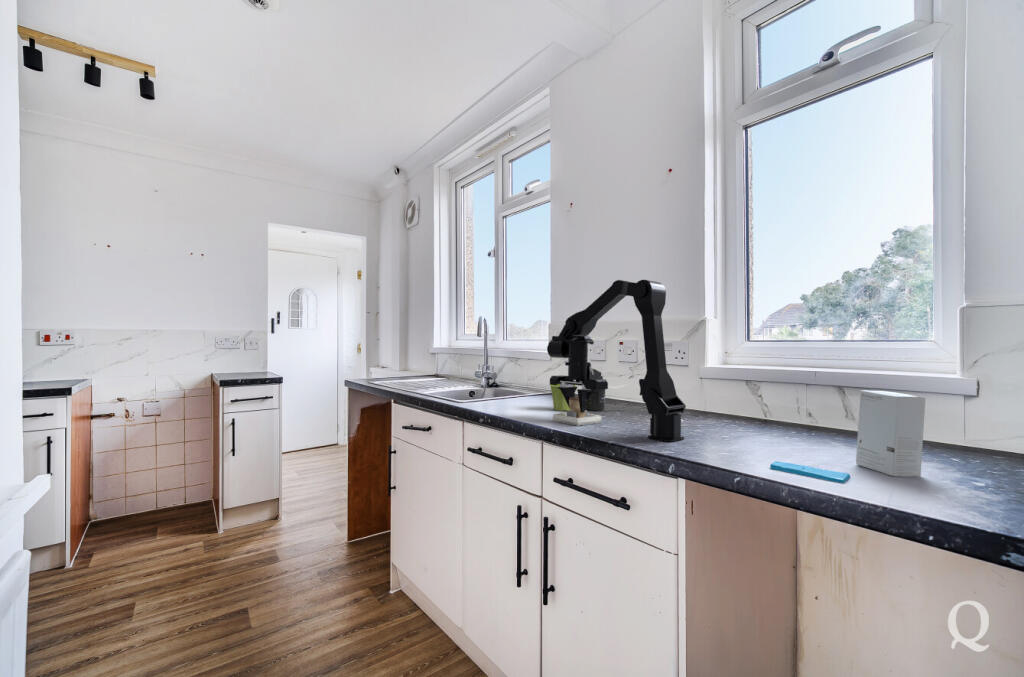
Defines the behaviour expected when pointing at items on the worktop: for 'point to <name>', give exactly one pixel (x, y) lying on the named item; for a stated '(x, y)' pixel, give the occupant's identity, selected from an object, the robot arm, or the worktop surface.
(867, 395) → the skincare box
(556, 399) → the plant pot
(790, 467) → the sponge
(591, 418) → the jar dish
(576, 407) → the wooden block
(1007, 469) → the worktop surface
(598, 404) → the supplement bottle
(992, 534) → the worktop surface
